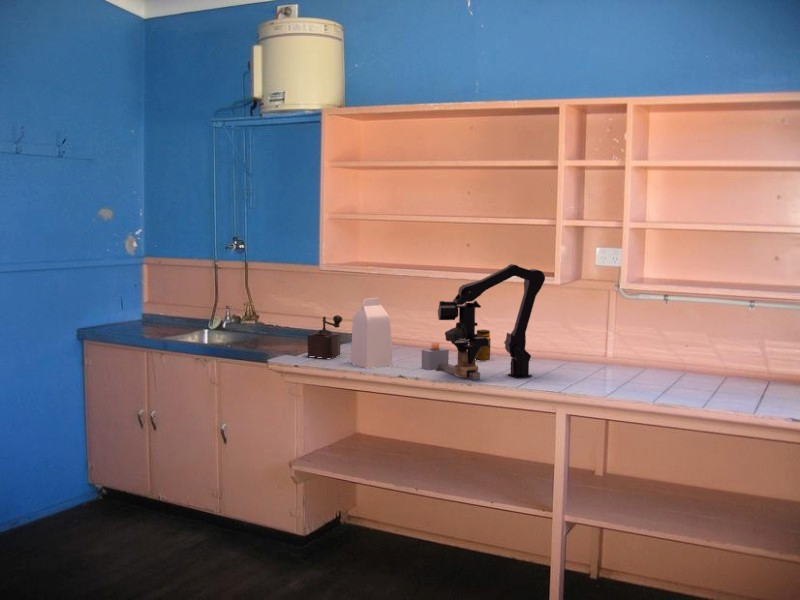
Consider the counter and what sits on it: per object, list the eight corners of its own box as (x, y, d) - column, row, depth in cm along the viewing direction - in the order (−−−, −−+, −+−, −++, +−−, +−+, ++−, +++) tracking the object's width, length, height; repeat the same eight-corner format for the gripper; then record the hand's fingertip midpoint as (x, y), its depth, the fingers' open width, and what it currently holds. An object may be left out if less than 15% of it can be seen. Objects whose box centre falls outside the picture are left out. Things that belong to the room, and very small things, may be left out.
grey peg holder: (448, 367, 307) (448, 349, 307) (428, 369, 303) (428, 351, 302) (441, 365, 312) (441, 347, 311) (421, 367, 307) (421, 349, 306)
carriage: (477, 376, 289) (478, 353, 288) (464, 378, 286) (464, 354, 285) (468, 373, 294) (468, 350, 293) (454, 375, 291) (455, 351, 290)
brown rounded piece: (440, 351, 306) (440, 343, 306) (434, 351, 305) (434, 344, 304) (436, 350, 309) (436, 342, 308) (429, 350, 307) (429, 343, 307)
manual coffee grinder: (305, 357, 327) (305, 314, 325) (319, 353, 337) (319, 311, 335) (339, 360, 321) (339, 316, 319) (352, 356, 331) (352, 313, 329)
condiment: (494, 360, 325) (495, 330, 323) (478, 362, 320) (478, 332, 319) (483, 357, 331) (483, 328, 329) (466, 359, 326) (467, 330, 325)
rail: (483, 379, 286) (483, 372, 286) (469, 381, 283) (469, 374, 283) (448, 369, 305) (448, 362, 305) (435, 370, 302) (435, 363, 302)
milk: (366, 368, 305) (367, 300, 302) (350, 364, 314) (350, 298, 311) (392, 365, 312) (393, 298, 309) (375, 361, 321) (376, 296, 318)
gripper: (433, 318, 292) (433, 360, 293) (464, 324, 276) (463, 369, 277) (458, 316, 297) (458, 358, 299) (490, 322, 282) (489, 366, 283)
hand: (466, 362), depth 290 cm, fingers closed on carriage, 4 cm apart
